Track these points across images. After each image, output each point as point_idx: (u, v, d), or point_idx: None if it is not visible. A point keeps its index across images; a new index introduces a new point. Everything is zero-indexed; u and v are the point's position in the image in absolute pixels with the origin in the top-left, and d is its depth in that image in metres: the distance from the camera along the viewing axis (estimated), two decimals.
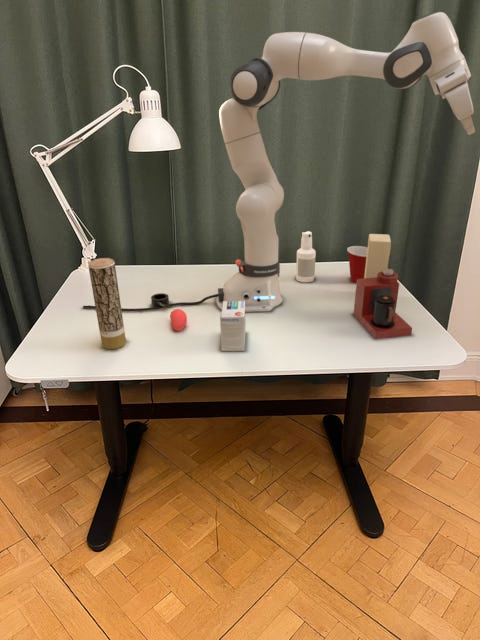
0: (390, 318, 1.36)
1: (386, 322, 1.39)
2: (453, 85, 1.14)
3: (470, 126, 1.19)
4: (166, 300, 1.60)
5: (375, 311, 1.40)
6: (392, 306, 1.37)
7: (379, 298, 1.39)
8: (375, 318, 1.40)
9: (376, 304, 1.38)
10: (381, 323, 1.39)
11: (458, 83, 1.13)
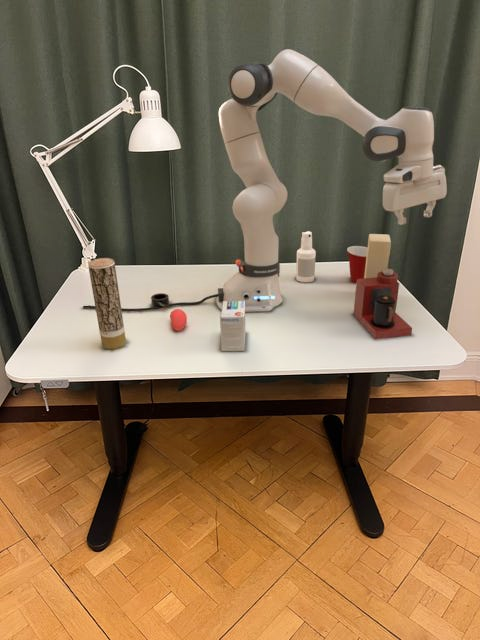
0: (390, 318, 1.36)
1: (386, 322, 1.39)
2: (390, 181, 1.29)
3: (400, 218, 1.34)
4: (166, 300, 1.60)
5: (375, 311, 1.40)
6: (392, 306, 1.37)
7: (379, 298, 1.39)
8: (375, 318, 1.40)
9: (376, 304, 1.38)
10: (381, 323, 1.39)
11: (393, 181, 1.28)
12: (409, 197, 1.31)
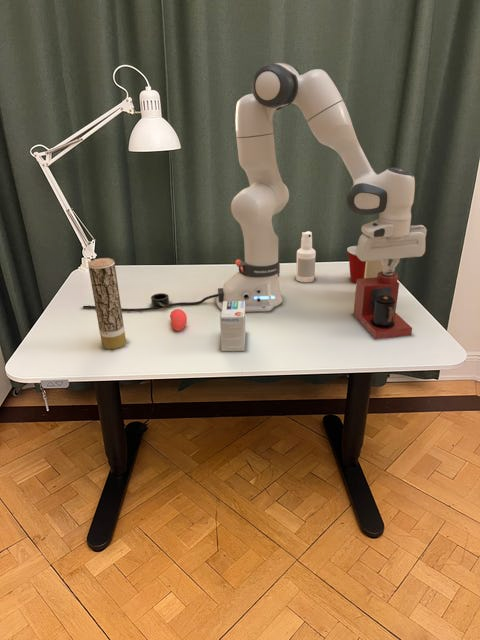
0: (390, 318, 1.36)
1: (386, 322, 1.39)
2: (364, 233, 1.38)
3: (384, 267, 1.44)
4: (166, 300, 1.60)
5: (375, 311, 1.40)
6: (392, 306, 1.37)
7: (379, 298, 1.39)
8: (375, 318, 1.40)
9: (376, 304, 1.38)
10: (381, 323, 1.39)
11: (366, 234, 1.37)
12: (381, 251, 1.40)
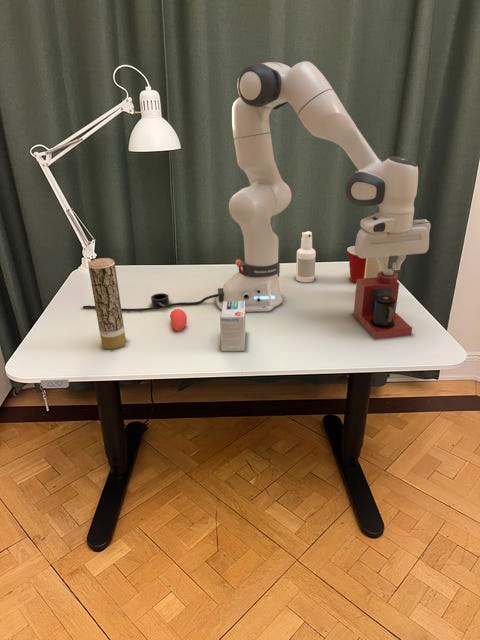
0: (390, 318, 1.36)
1: (386, 322, 1.39)
2: (363, 227, 1.28)
3: (380, 265, 1.33)
4: (166, 300, 1.60)
5: (375, 311, 1.40)
6: (392, 306, 1.37)
7: (379, 298, 1.39)
8: (375, 318, 1.40)
9: (376, 304, 1.38)
10: (381, 323, 1.39)
11: (365, 229, 1.27)
12: (381, 247, 1.29)
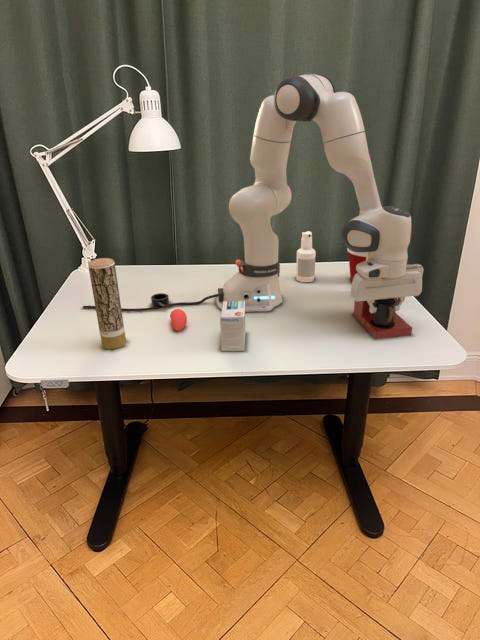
0: (390, 318, 1.36)
1: (386, 322, 1.39)
2: (359, 272, 1.33)
3: (371, 307, 1.39)
4: (166, 300, 1.60)
5: None
6: (392, 306, 1.37)
7: None
8: (375, 318, 1.40)
9: (376, 304, 1.38)
10: (381, 323, 1.39)
11: (361, 274, 1.33)
12: (376, 291, 1.35)
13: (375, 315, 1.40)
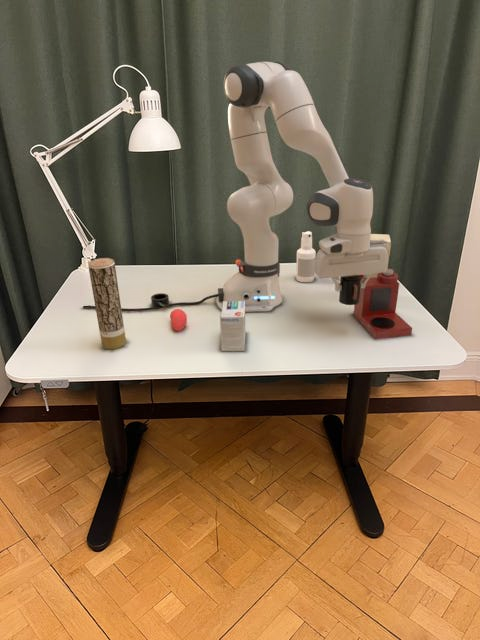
0: (355, 295, 1.32)
1: (352, 300, 1.34)
2: (321, 248, 1.29)
3: (335, 285, 1.34)
4: (166, 300, 1.60)
5: None
6: (357, 283, 1.33)
7: None
8: (341, 296, 1.36)
9: (341, 282, 1.34)
10: (347, 301, 1.35)
11: (323, 250, 1.28)
12: (340, 267, 1.31)
13: (340, 293, 1.36)
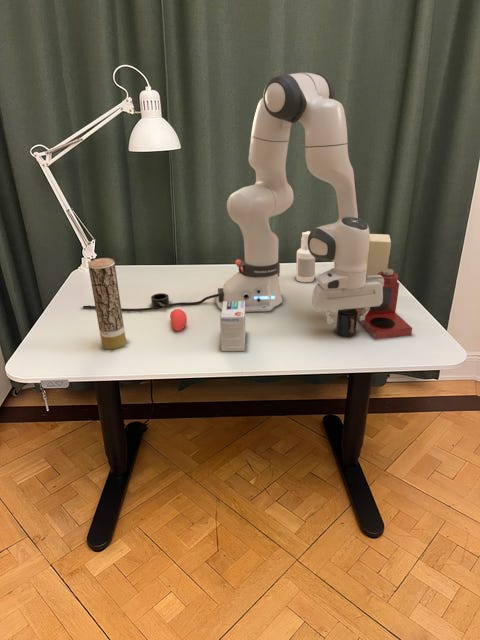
0: (351, 329, 1.37)
1: (348, 333, 1.39)
2: (319, 283, 1.34)
3: (328, 318, 1.39)
4: (166, 300, 1.60)
5: (337, 322, 1.40)
6: (354, 317, 1.37)
7: None
8: (338, 329, 1.41)
9: (338, 315, 1.39)
10: (343, 334, 1.40)
11: (320, 285, 1.33)
12: (337, 301, 1.35)
13: (338, 326, 1.40)
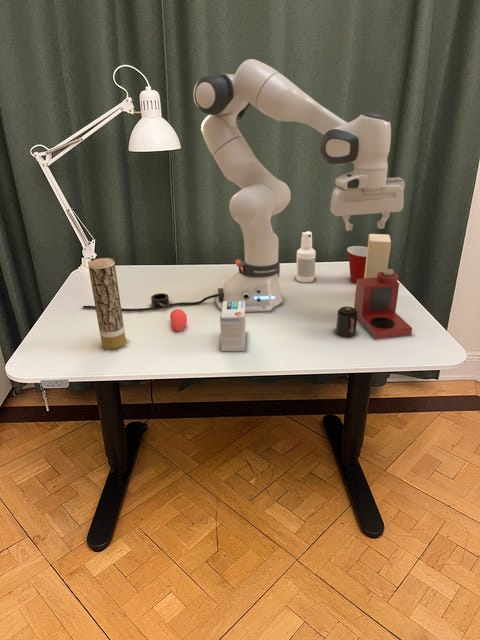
0: (351, 329, 1.37)
1: (348, 333, 1.39)
2: (338, 185, 1.29)
3: (346, 224, 1.34)
4: (166, 300, 1.60)
5: (337, 322, 1.40)
6: (354, 317, 1.37)
7: (341, 309, 1.39)
8: (338, 329, 1.41)
9: (338, 315, 1.39)
10: (343, 334, 1.40)
11: (339, 186, 1.28)
12: (356, 205, 1.30)
13: (338, 326, 1.40)
